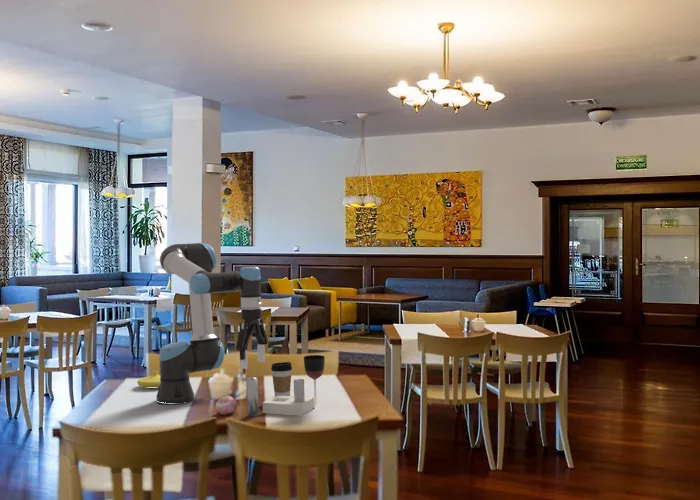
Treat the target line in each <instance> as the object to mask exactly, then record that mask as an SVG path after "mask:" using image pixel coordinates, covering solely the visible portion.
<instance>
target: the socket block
mask: <svg viewBox="0 0 700 500" xmlns="http://www.w3.org/2000/svg"><path fill="white" fill-rule="evenodd" d="M313 408H315V406H314V397H306V396H305V379H304V378H295V379H293V396H292V395H290V396H279V395H277V396H275V395H274V397H271V398H269V399H267V400H265V401H262V414H269V415H270V414H271V415H283V416H284V415H286V416H294V415H297V416H296V417H302V416H304V415H305V413H306V414H307V413H309V412H311V411H312V410H314V409H313ZM310 410H311V411H310Z"/></svg>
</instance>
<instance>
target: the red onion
mask: <svg viewBox="0 0 700 500" xmlns="http://www.w3.org/2000/svg"><path fill="white" fill-rule="evenodd" d="M237 405H238V404H237V401H236V399H235V398H234V397H232V396H230V395H227V394H226V395H224V396H222V397H220V398H219V399H218V400H217V401H216V403H215V410H216V414H217V415H221V416H230V415H232V414H233V413H235V411H236V409H237V407H238V406H237Z"/></svg>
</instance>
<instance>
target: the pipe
mask: <svg viewBox="0 0 700 500" xmlns="http://www.w3.org/2000/svg"><path fill="white" fill-rule="evenodd" d="M258 389H259V387H258V377H257V376H250V377H246V397H247V398H246V403H247V404H246V406H247V408H246V409H247V417H248V418H249V417H251V418H253V417H258V416H259V392H258V391H259V390H258Z"/></svg>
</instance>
